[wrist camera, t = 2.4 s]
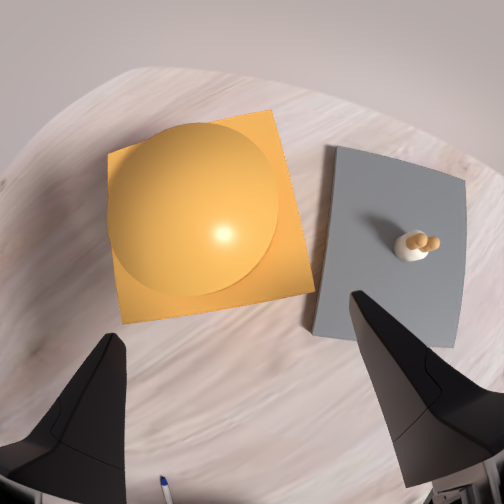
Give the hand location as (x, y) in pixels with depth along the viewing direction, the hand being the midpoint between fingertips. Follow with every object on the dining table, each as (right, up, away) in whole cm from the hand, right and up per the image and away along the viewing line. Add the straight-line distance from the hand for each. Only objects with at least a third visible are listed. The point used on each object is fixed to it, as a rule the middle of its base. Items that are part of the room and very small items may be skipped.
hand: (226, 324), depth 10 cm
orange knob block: (0, +2, +11) cm, 11 cm away
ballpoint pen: (-7, -23, +9) cm, 26 cm away
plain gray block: (+12, +3, +10) cm, 16 cm away
